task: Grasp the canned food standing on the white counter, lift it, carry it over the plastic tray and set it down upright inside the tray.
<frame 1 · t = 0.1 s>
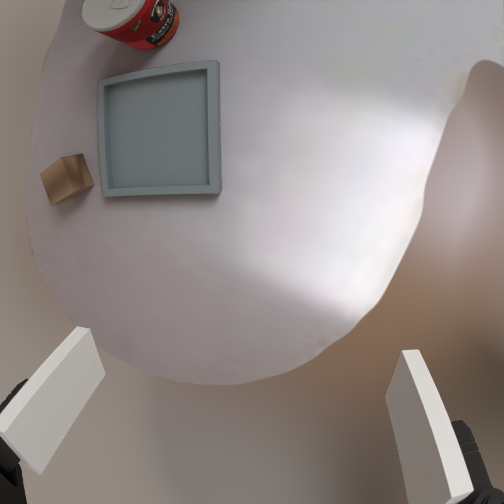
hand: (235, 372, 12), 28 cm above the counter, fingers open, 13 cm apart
tray: (158, 130, 35), on the counter
walnut block: (77, 176, 39), on the counter
canned food: (153, 26, 30), on the counter
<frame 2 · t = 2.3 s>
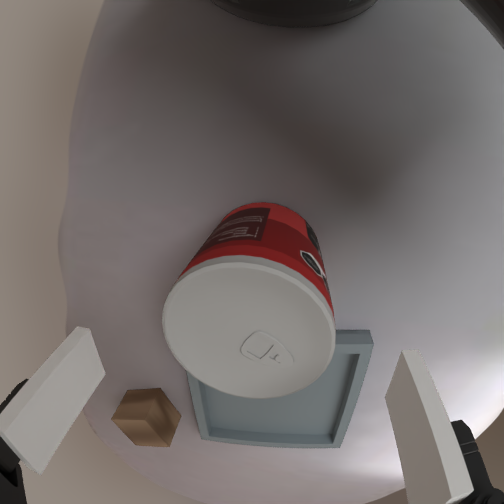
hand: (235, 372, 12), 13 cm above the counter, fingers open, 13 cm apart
tray: (274, 391, 29), on the counter
walnut block: (154, 402, 32), on the counter
canned food: (266, 249, 23), on the counter
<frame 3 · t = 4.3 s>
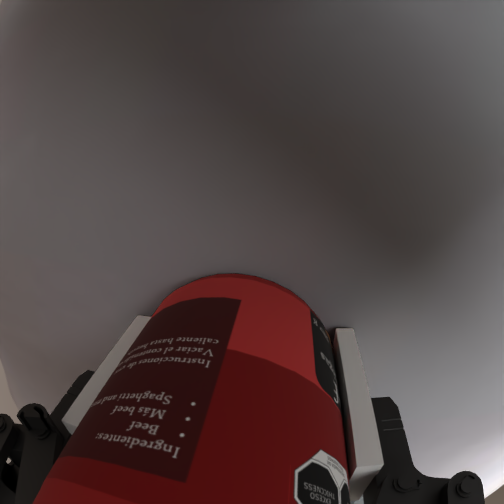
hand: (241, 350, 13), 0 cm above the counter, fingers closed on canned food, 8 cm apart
canned food: (242, 343, 13), on the counter, touching gripper
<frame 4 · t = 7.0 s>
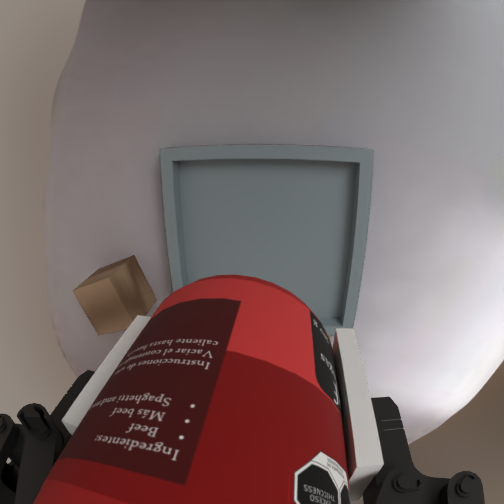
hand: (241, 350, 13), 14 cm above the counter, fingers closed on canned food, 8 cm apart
tray: (266, 240, 26), on the counter
walnut block: (127, 283, 29), on the counter
canned food: (242, 344, 13), point 14 cm above the counter, touching gripper
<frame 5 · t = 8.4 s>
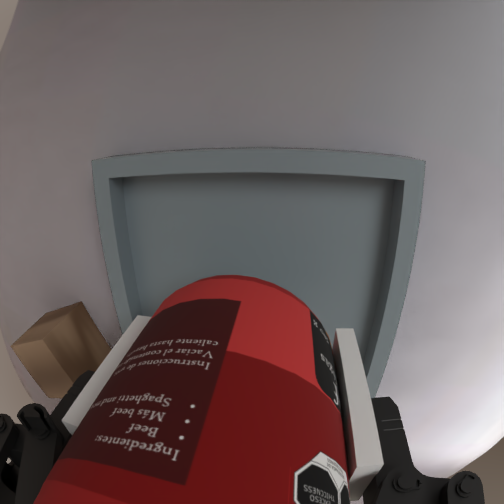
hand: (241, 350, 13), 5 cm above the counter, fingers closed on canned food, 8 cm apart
tray: (254, 293, 17), on the counter
walnut block: (79, 333, 21), on the counter
canned food: (242, 344, 13), point 5 cm above the counter, touching gripper
when the fingers open (3 cm above the counter, at t = 9.6 s): canned food drops 2 cm, resting on tray.
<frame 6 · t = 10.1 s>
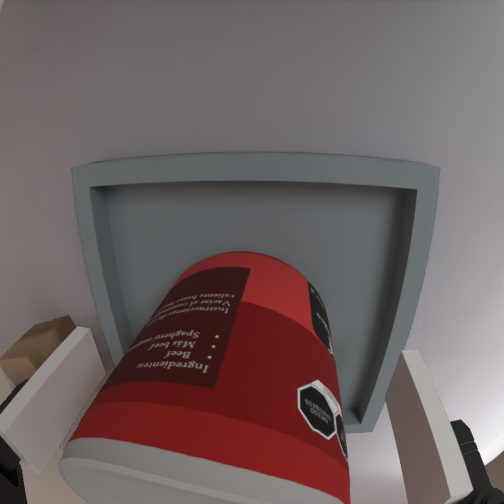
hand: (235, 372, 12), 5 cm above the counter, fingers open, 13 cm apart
tray: (250, 311, 16), on the counter
walnut block: (67, 347, 19), on the counter
canned food: (249, 315, 16), resting on tray
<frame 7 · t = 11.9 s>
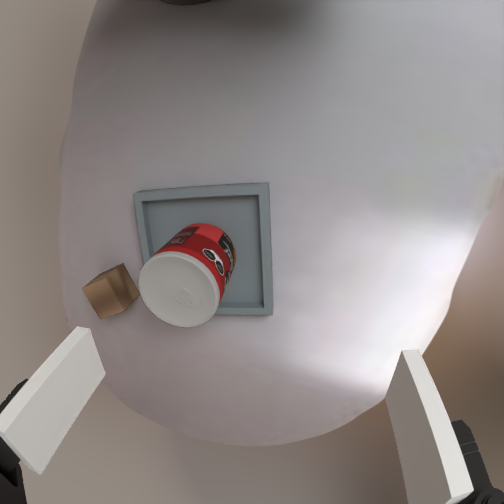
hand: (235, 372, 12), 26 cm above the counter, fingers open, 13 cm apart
tray: (206, 250, 38), on the counter
walnut block: (119, 283, 42), on the counter
canned food: (206, 250, 38), resting on tray
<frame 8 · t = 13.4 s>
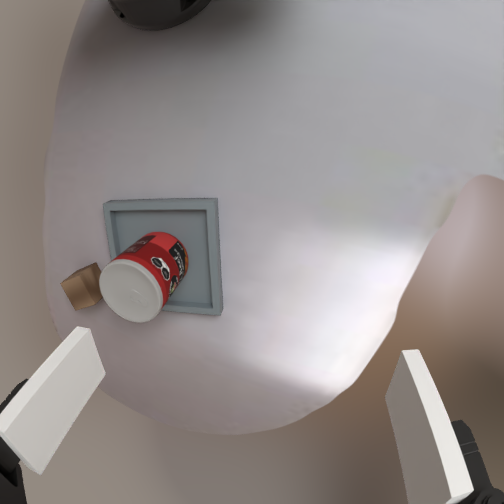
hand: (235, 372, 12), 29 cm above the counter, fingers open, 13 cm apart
tray: (165, 254, 42), on the counter
walnut block: (93, 279, 46), on the counter
canned food: (164, 255, 42), resting on tray
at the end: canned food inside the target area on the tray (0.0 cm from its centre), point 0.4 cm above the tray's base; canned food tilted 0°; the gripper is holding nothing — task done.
